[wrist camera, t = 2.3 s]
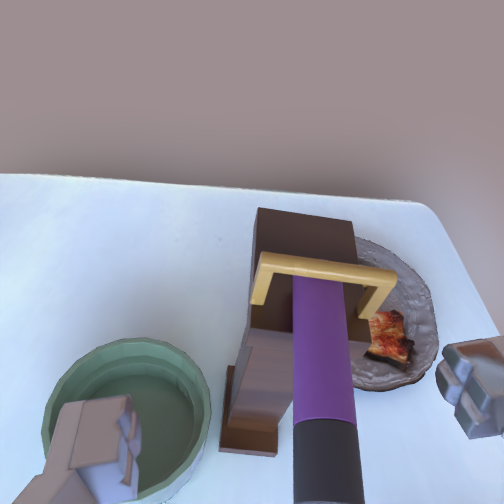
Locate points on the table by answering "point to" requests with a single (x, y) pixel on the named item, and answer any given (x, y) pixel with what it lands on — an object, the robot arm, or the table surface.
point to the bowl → (145, 407)
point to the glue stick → (323, 398)
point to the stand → (290, 319)
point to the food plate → (396, 327)
